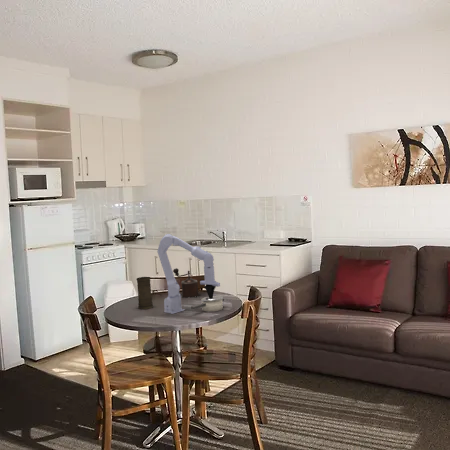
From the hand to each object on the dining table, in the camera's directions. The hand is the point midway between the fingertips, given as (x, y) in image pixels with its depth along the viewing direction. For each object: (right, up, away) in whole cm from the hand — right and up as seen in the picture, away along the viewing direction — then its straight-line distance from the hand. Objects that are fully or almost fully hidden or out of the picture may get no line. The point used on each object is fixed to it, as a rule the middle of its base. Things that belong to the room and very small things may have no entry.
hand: (210, 297), depth 281 cm
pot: (-1, -7, -3) cm, 7 cm away
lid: (+1, -1, -1) cm, 1 cm away
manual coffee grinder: (-17, -5, +39) cm, 42 cm away
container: (-39, -8, +13) cm, 42 cm away
